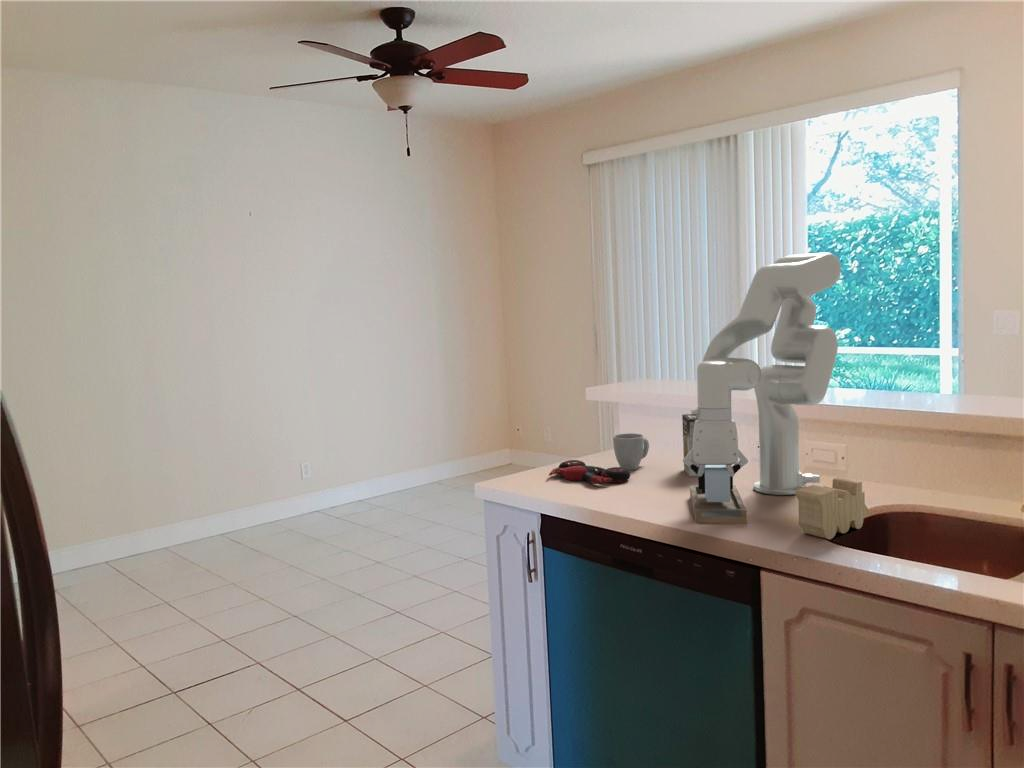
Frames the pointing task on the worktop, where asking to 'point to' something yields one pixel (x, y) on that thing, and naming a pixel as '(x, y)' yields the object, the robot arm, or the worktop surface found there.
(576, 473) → the toy motorcycle
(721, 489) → the light blue block
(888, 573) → the worktop surface
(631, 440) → the mug
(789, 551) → the worktop surface
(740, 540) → the worktop surface
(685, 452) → the coffee box
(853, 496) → the toy train
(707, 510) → the cradle
